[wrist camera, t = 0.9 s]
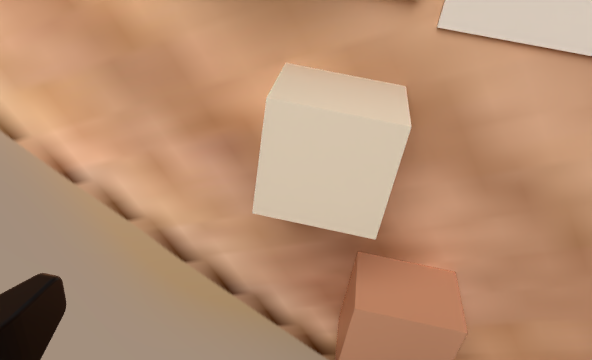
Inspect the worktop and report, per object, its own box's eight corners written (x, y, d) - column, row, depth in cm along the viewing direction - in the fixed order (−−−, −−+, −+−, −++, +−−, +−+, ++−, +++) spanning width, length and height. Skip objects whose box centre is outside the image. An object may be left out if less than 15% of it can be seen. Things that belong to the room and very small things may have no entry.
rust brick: (455, 270, 24) (467, 333, 20) (426, 334, 26) (432, 399, 23) (357, 249, 24) (354, 308, 20) (339, 315, 27) (333, 376, 23)
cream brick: (405, 85, 19) (411, 127, 16) (376, 185, 22) (375, 239, 18) (286, 61, 19) (266, 97, 16) (271, 163, 22) (252, 213, 19)
